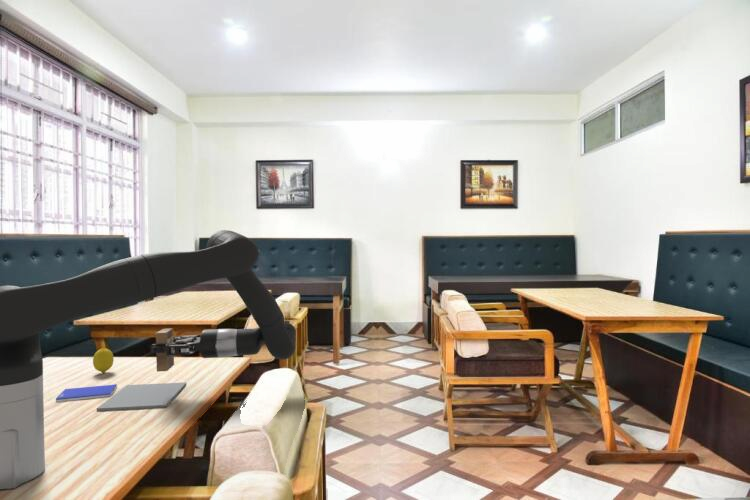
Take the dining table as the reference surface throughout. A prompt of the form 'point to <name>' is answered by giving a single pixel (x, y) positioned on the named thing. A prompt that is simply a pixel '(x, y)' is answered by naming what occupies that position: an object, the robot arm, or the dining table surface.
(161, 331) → the brown cardboard box
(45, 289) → the robot arm
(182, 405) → the dining table surface
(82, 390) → the hard drive
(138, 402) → the grey mat
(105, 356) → the lemon
